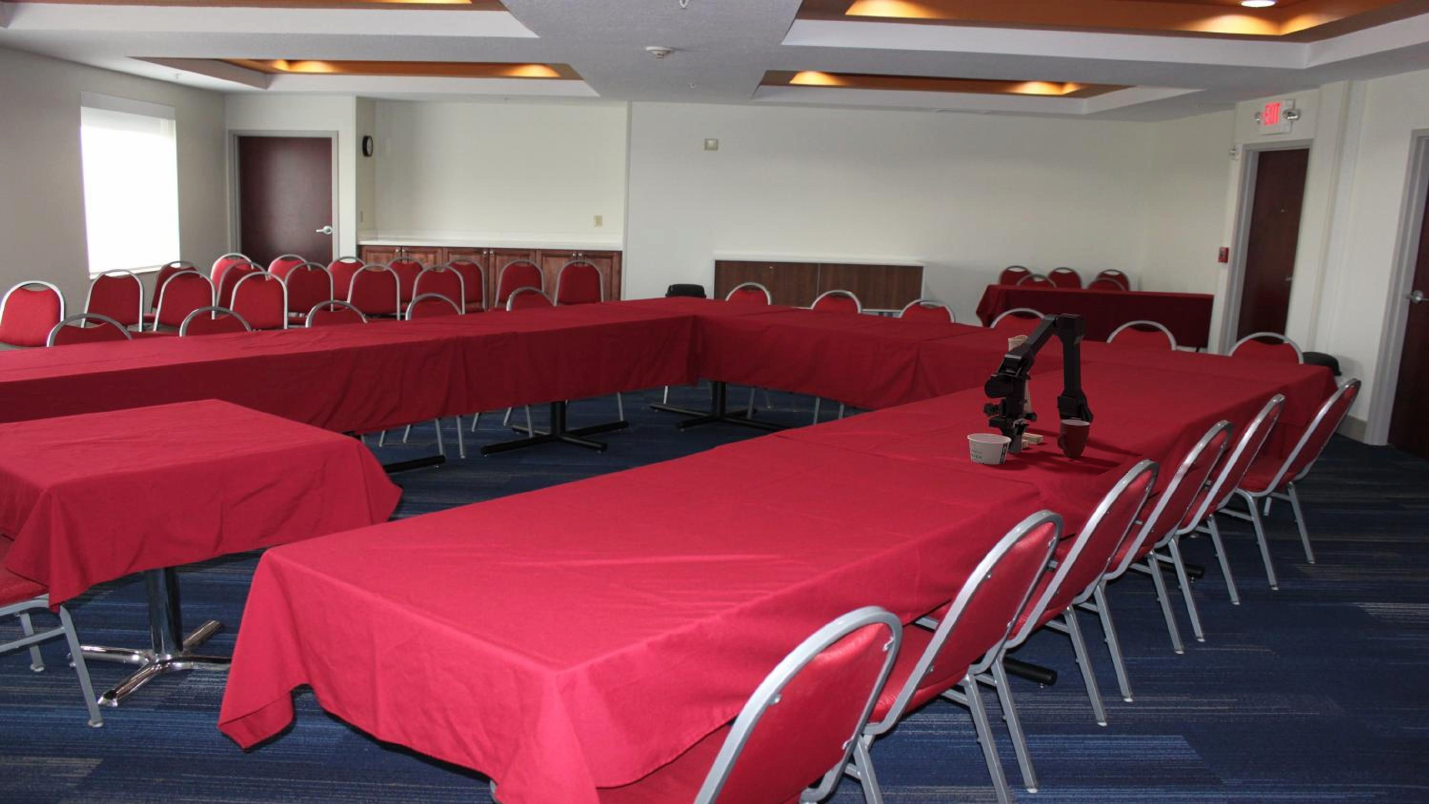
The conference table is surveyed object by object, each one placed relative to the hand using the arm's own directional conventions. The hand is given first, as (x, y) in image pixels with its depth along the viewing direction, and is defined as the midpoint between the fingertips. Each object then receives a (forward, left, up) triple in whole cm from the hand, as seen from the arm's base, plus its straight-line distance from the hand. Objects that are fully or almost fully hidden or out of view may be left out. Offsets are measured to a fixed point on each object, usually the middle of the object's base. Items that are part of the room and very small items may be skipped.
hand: (1010, 448), depth 312 cm
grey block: (0, 0, -1) cm, 1 cm away
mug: (-7, +15, -1) cm, 17 cm away
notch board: (-12, -4, -1) cm, 13 cm away
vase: (-33, -16, -1) cm, 37 cm away
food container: (+15, +1, -1) cm, 15 cm away
